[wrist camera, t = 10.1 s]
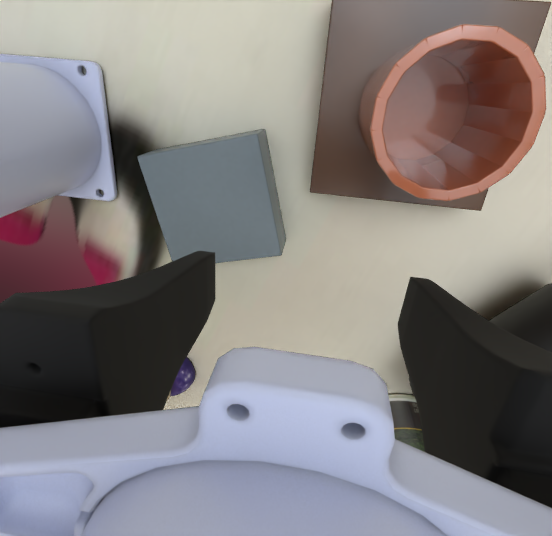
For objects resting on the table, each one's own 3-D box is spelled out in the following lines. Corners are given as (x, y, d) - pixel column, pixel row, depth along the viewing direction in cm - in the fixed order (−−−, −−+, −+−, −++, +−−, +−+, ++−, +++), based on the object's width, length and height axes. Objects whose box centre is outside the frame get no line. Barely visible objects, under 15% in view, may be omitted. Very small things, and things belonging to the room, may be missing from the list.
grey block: (187, 252, 26) (174, 268, 23) (155, 149, 23) (136, 156, 20) (286, 240, 24) (281, 255, 22) (265, 128, 21) (257, 133, 19)
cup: (350, 159, 19) (359, 192, 13) (369, 42, 17) (389, 19, 11) (454, 170, 18) (510, 208, 13) (488, 50, 16) (576, 31, 10)
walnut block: (311, 181, 22) (309, 192, 20) (333, 0, 18) (333, -12, 16) (465, 198, 21) (481, 211, 19) (523, 12, 17) (552, 1, 15)
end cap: (530, 260, 23) (602, 324, 16) (593, 331, 24) (681, 413, 18) (398, 347, 27) (418, 423, 21) (459, 403, 28) (494, 489, 22)
